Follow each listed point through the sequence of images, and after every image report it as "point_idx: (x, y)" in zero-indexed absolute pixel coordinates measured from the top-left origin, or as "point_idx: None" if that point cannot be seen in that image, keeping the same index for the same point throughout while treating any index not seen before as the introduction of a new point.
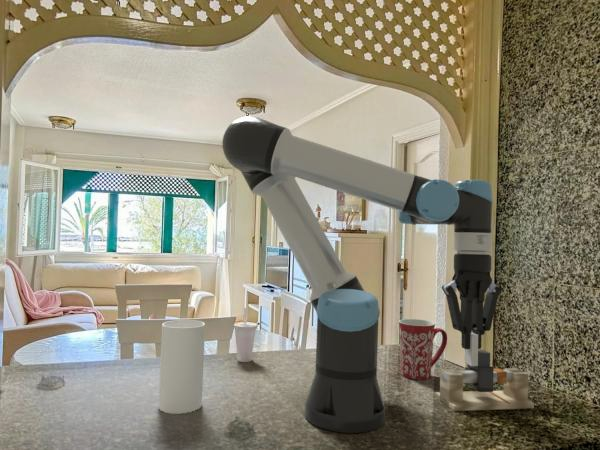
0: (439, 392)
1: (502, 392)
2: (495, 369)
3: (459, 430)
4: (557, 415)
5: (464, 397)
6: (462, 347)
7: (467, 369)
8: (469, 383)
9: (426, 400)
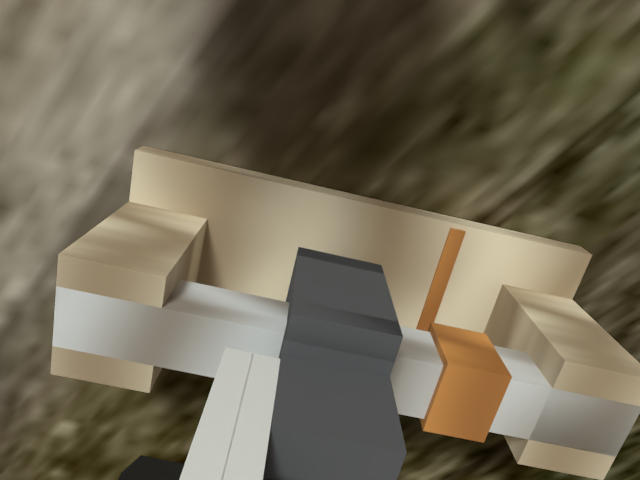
0: (156, 162)
1: (516, 269)
2: (456, 387)
3: (29, 462)
4: (526, 474)
5: (246, 266)
6: (138, 462)
7: (294, 285)
8: (292, 275)
9: (64, 174)
